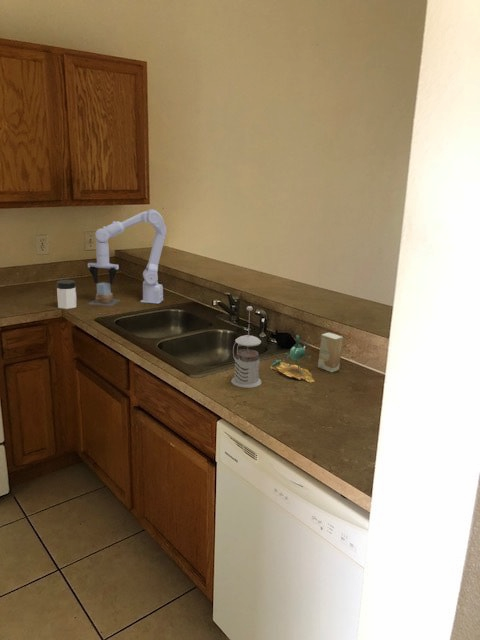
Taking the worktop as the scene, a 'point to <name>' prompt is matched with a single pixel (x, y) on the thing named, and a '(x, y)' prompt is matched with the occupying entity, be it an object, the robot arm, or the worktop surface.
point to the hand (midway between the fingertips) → (103, 283)
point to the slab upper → (104, 296)
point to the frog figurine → (294, 370)
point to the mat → (104, 304)
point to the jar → (66, 294)
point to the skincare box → (330, 352)
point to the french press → (246, 361)
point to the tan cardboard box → (104, 301)
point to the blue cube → (103, 288)
